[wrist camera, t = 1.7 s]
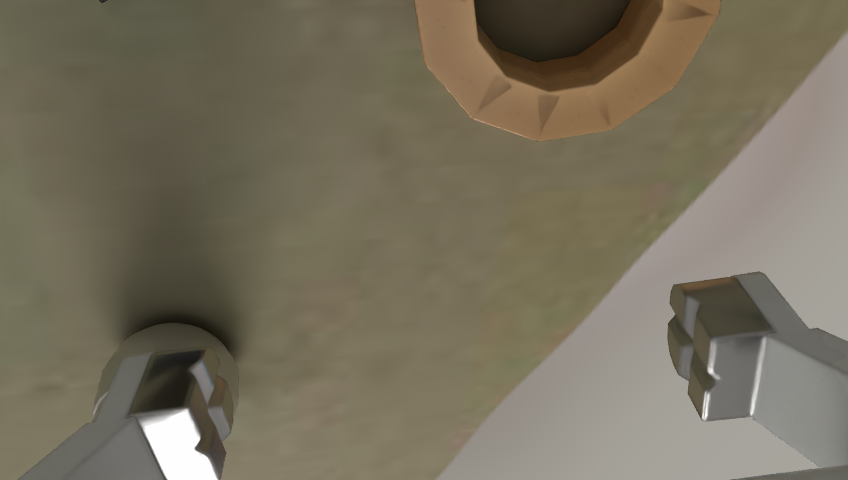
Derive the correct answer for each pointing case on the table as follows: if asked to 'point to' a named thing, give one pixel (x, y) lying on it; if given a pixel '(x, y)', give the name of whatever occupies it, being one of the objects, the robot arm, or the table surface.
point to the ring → (563, 67)
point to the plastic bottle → (163, 340)
